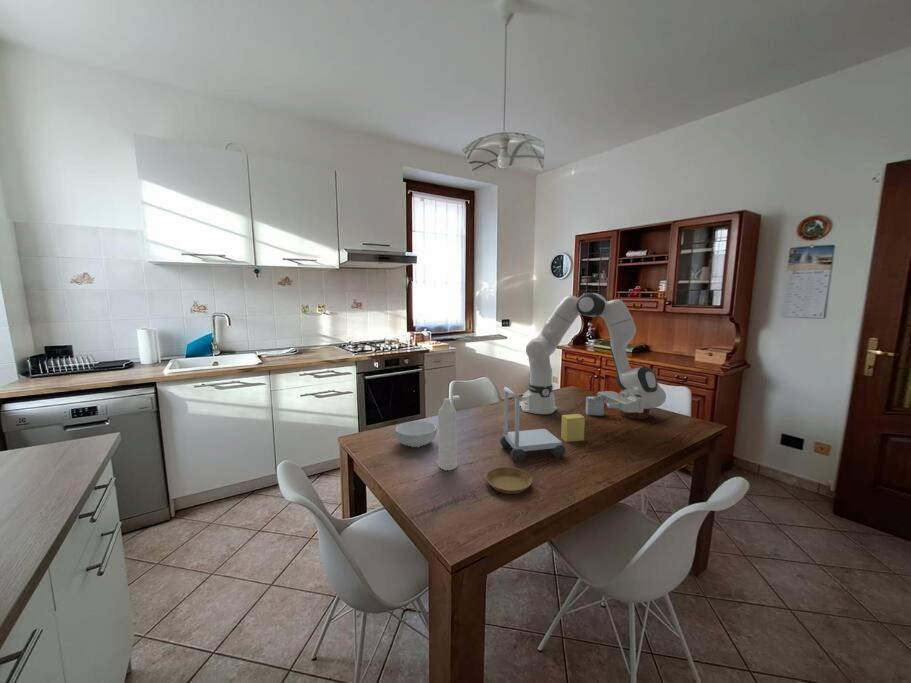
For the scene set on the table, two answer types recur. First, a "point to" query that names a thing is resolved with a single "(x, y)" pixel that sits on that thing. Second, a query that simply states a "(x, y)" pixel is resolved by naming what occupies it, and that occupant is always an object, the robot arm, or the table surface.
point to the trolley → (527, 435)
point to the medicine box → (594, 407)
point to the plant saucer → (509, 480)
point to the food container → (635, 414)
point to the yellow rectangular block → (572, 427)
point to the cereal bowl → (416, 433)
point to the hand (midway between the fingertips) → (600, 402)
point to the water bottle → (447, 435)
